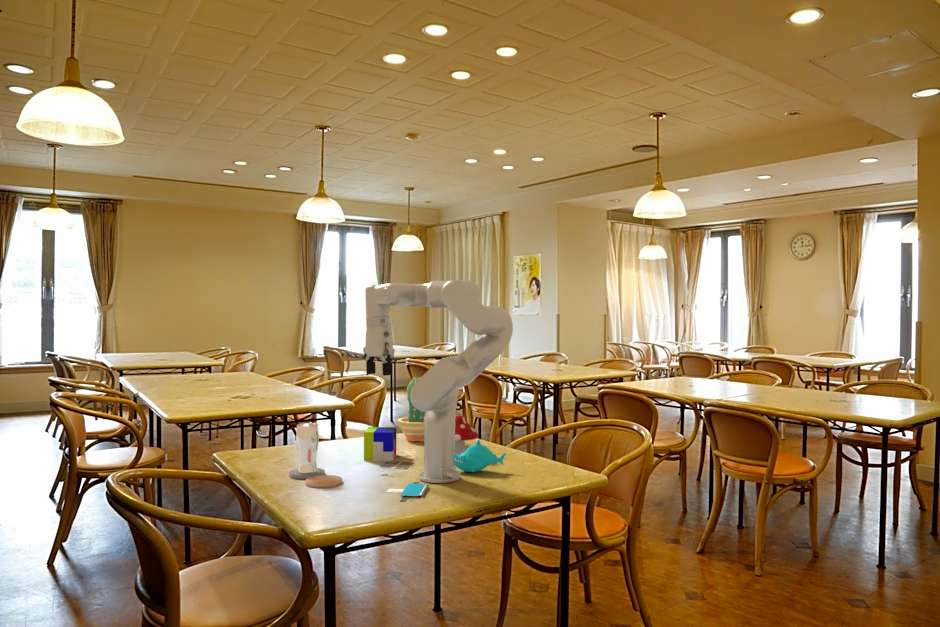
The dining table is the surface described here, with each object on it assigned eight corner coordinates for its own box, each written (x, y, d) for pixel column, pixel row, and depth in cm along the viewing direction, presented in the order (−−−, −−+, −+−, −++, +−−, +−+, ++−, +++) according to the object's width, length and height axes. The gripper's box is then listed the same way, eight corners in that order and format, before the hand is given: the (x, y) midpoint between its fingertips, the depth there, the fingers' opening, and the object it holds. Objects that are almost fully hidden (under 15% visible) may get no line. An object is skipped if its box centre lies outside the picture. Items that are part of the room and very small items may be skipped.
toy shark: (451, 468, 220) (451, 436, 220) (505, 468, 220) (505, 436, 220) (450, 475, 210) (451, 442, 210) (507, 475, 211) (507, 442, 210)
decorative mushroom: (472, 462, 228) (473, 419, 228) (434, 460, 232) (434, 417, 232) (482, 453, 242) (482, 412, 242) (446, 451, 245) (446, 411, 245)
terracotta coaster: (348, 483, 200) (348, 480, 200) (314, 489, 193) (314, 486, 193) (332, 476, 209) (332, 473, 209) (299, 481, 202) (299, 478, 202)
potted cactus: (430, 444, 258) (430, 380, 258) (392, 442, 261) (392, 379, 261) (439, 436, 273) (439, 376, 273) (403, 435, 276) (404, 375, 276)
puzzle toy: (392, 461, 230) (392, 432, 230) (363, 460, 230) (363, 432, 230) (396, 454, 240) (396, 427, 240) (368, 454, 240) (368, 427, 240)
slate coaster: (330, 475, 209) (330, 472, 209) (297, 481, 203) (297, 478, 203) (315, 468, 218) (315, 465, 218) (283, 474, 211) (283, 470, 211)
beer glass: (321, 469, 213) (321, 422, 213) (314, 474, 207) (314, 426, 206) (300, 468, 214) (300, 422, 214) (292, 474, 207) (292, 426, 207)
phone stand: (394, 483, 203) (394, 478, 203) (433, 484, 201) (433, 479, 201) (378, 502, 183) (378, 496, 183) (421, 504, 182) (421, 498, 182)
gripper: (402, 321, 213) (403, 374, 213) (373, 322, 226) (374, 372, 226) (382, 322, 208) (383, 376, 208) (354, 323, 221) (355, 374, 221)
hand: (379, 374), depth 217 cm, fingers open, 9 cm apart
